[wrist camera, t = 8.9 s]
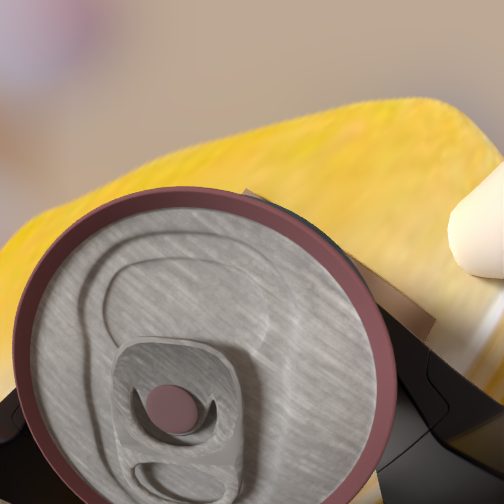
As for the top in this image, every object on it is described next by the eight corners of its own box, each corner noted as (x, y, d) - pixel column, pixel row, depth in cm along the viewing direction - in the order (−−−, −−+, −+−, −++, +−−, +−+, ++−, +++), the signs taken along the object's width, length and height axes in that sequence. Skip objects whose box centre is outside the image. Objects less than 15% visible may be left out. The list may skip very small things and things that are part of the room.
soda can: (179, 260, 16) (10, 168, 4) (310, 263, 15) (429, 155, 3) (176, 386, 14) (31, 508, 3) (305, 392, 14) (384, 560, 2)
